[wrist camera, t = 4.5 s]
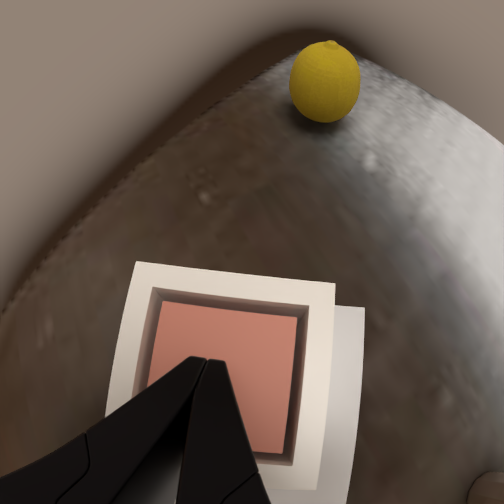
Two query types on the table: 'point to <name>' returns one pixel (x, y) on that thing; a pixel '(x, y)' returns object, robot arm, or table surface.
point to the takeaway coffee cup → (487, 489)
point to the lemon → (324, 82)
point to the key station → (303, 372)
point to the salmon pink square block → (235, 360)
